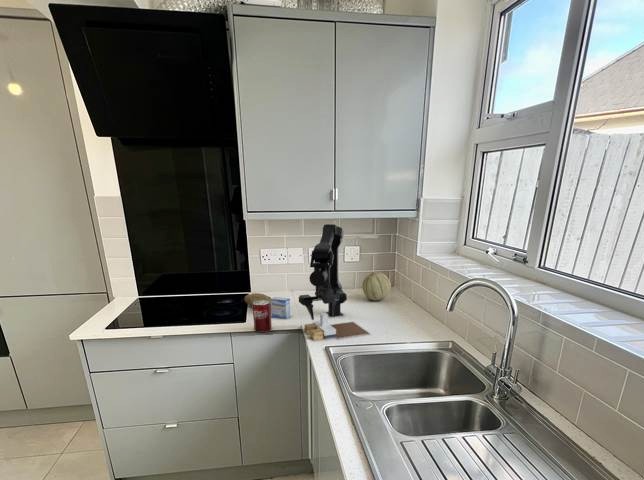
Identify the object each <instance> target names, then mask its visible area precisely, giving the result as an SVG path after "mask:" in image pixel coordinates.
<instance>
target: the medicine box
mask: <svg viewBox="0 0 644 480" xmlns="http://www.w3.org/2000/svg"><path fill="white" fill-rule="evenodd" d="M271 298H272V299H271V318H278V319H289V318H290V317H291V298H288V297H278V296H277V297H276V296H274V297H271Z"/></svg>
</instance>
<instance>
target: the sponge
mask: <svg viewBox="0 0 644 480" xmlns="http://www.w3.org/2000/svg"><path fill="white" fill-rule="evenodd" d="M272 298H273V297H271V296H269V295H267V294H264V293H259V292H253V293H250V294H246V295H245V296H244V302H245V304H247V305H249V306H250V307H252V304H253V302H255V301H268V302H269V303H270V309H271V299H272Z"/></svg>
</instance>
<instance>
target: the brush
mask: <svg viewBox="0 0 644 480" xmlns="http://www.w3.org/2000/svg"><path fill="white" fill-rule="evenodd" d="M319 316H320V317H319V318H320V319H319V320H313V321H312V323H314V324H315V325H316V326H317V329H321V330H322V331H323V332H324V339H323V340H327V339H332V338H333V339H334V338H337V337H336V329H335V328H333V327H332V326H331V325H332V324H330V323H329V315H328V314H327V313H326V312H320V313H319Z"/></svg>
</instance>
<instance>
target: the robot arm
mask: <svg viewBox="0 0 644 480" xmlns="http://www.w3.org/2000/svg"><path fill="white" fill-rule="evenodd" d="M344 233H345V232H344V229H343V227H340V226H337V224H335V223H325V224H323V227H322V235H321V238H320V240H319V243H318V244H317V243H316V245H315V246H314V247H313V250H311V256H310V263H309V267H310V268H313V271H312V272H311V273H310V275H309V283H310V284H311V285H312V286H314V287H315V292H314V296H313V295H312V296H311V295H310V294H300V295H299V296H298V303H299V304H301V305H302V306H304V307H306V309H307V312H308V314H309V316H310V318H311V320H312V321H315V320H314V318H315V317H314V304H313V303H314V302H319V301H321V302H322V304H325V305H328V306H327V307H328V308H327V309H328V311H326V312H325V313H327V314H328V317H330V318H336V317H341V316H344V313H342V312H341V310H342V309H341V306H342V305H341V304H344V303H345V302H346V301H348V295H347V293H346V292H344V290H343V286H342V284H341V282H340V281H339V248H340V246H341V245H342V242H343V238H344V235H345V234H344Z"/></svg>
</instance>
